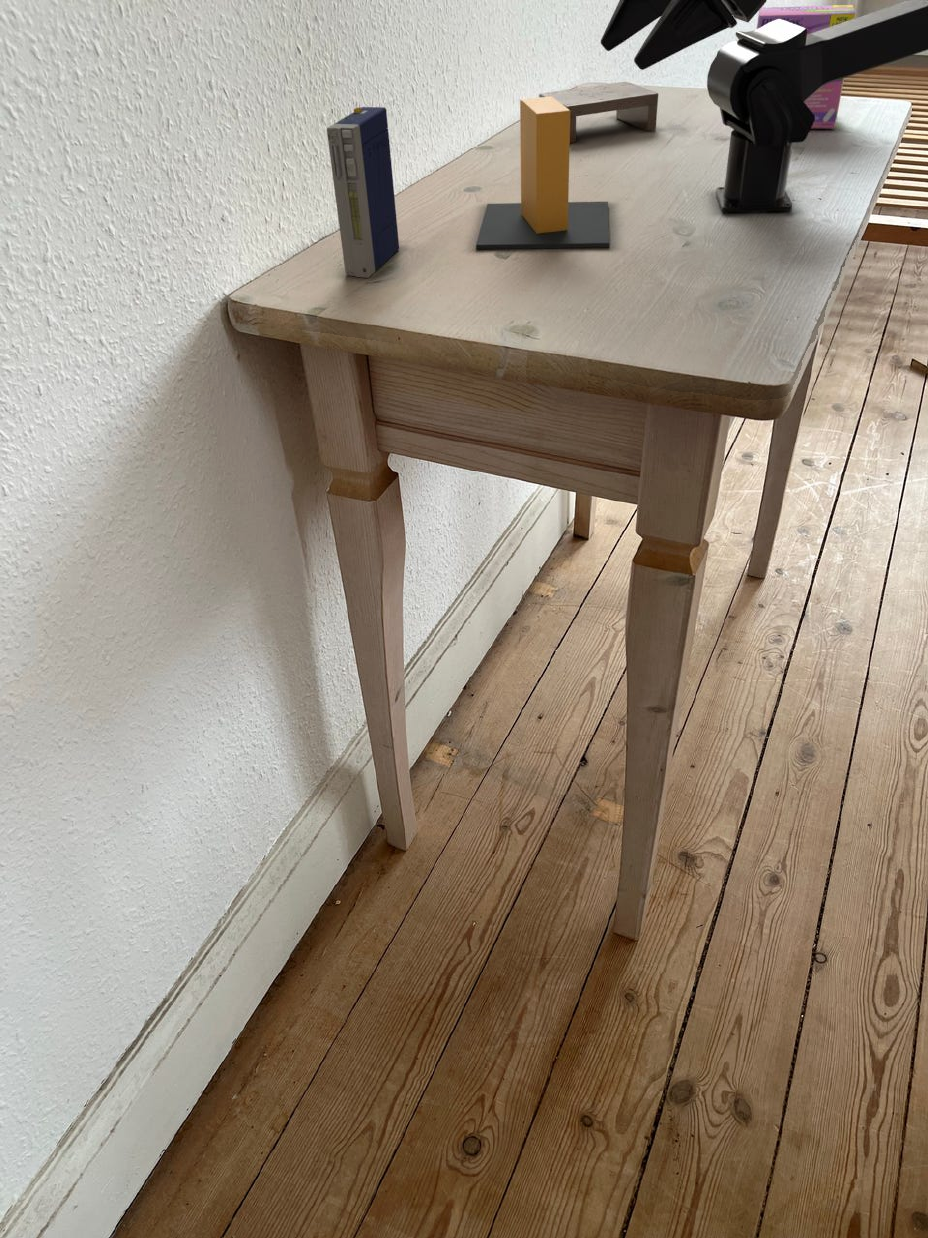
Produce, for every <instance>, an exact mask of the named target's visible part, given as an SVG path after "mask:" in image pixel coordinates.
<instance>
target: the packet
mask: <svg viewBox="0 0 928 1238" xmlns="http://www.w3.org/2000/svg"><path fill="white" fill-rule="evenodd" d="M519 109H520V110H519V112H520V113H519V121H520V122H519V124H520V125H519V128H520V131H519V132H520V203H521V215H522V216H523V217H524V218H525V220H526V221H527V222H528V223H529V225H530V226H531V227H532V228H533V230H534V231H535V232H536V234H540V233H548V232H557V231H565V230H568V202H569V195H570V193H569V191H570V190H569V189H570V188H569V187H570V147H571V145H570V144H571V143H570V110H569V109H567V108H566V107H565V106H564V105H562V104H561V103H560V102H558V101H557V100H556V99H555V98H553V97H552V96H550V97H540V98H539V97H530V98H521V99H520V100H519Z"/></svg>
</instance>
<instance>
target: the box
mask: <svg viewBox="0 0 928 1238" xmlns="http://www.w3.org/2000/svg"><path fill="white" fill-rule="evenodd" d="M855 18H856V10H855V8H854V6H853V4H831V5H805V6H804V5H803V6H773V7H771V6H770V7H766V6H765V7H764V6H762V7H761V9H760V10H759V11H758V15H757V23H756V29H759V28H760V27H762V26H764V25H766V24H768V23H770V22H772V21H774V20H777V19H782V20H785V21H788V22H791V23H793V24H796V25H799V26H802V27H804V28H807V34H811V33H814V32H817V31H820V30H823V29H826V28H828V27H831V26H834V25H837V24H840V23H843V22H846V21H849V20H852V19H855ZM844 82H845V78H843V79H840V80H837V81H834V82H831V83H828V84H826V85H824V86H822V87H821V88H820V89H818V90H817V91H816V92H815V93H814V94H813V95H812V96H811V97H809V98H808V99H807V100H806V101H805V104H806V105H807V106H808V108H809V109H810V110H811V112H812V113H813V114H814V115H815V121H814V123H813V125H812V127H811V129H810V130H812V129H813V130H814V129H815V130H817V129H831V130H834V129H835V128H836V124H837V119H838V113H839V108H840V104H841V103H840V102H841V98H842V91H843V87H844Z"/></svg>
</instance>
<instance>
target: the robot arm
mask: <svg viewBox="0 0 928 1238" xmlns="http://www.w3.org/2000/svg"><path fill="white" fill-rule="evenodd" d="M766 3H767V0H619V1H618V3H617V5H616V7H615V9H614V11H613V14H611V15H612V16H611V17H610V20H609V22H608V24H607V26H606V28H605V30H604V32H603V34H602V37H601V39H600V45H601V46H602V47H603V48H604V50H605V51H607V52H610V51H612V50H613V49H615V48H617V47H619V45H621V44H623V43H624V42H626V41H627V40H629V39H631V38H632V37H633V36H634V35H636V34H637V33H639V32H640V31H642V30H643V29H645V28H646V27H648V26H649V25H651V24H652V23H653V22H655V21H656V20H657V19H658V20H657V22H656V23H655V25H654V26H653V27H652V29H651V31H650V32H649V34H648V36H647V37H646V39H645V40H644V41H643V43H642V45H641V47H640V48H639V50H638V51H637V53H636V55H635V56H634V58H633V62H634V65H636V66H637V68H638V69H639V70H641V71H644V70H646V69H648V68H650V67H652V66H654V65H656V64H657V63H660V62H662V61H663V60H665V59H668V58H669V57H672V56H674V55H675V54H677V53H679V52H681V51H682V50H685V49H687V48H689V47H691V46H693V45H695V44H697V43H699V42H701V41H703V40H706V39H708V38H710V37H712V36H714V35H716V34H718V33H720V32H722V31H724V30H727V29H733V28H735V27H736V26H737V25H738V21H737V20H739V21H742V22H745V23H749V22H750V21H751V20H752V19H753V18H754V17H755V15H756V14H757V13H759V10H760V9H761V7H764V5H765V4H766ZM735 37H736V38H737V40H733V41H731V42H729V43H727V44H725V45H723V46H722V47H721V48H720V49H719V50H718V51H717V52H716V56H715V57H714V59H713V60H712V62H711V64H710V66H709V69H708V73H707V77H706V78H707V79H706V88H707V92H708V96H709V98H710V100H711V101H712V103H713V104H714V105H716V106H717V107H718V108H719V111H720V116H721V120H722V124H723V125H724V126H725V127H729V128H731V129H732V131H730V139H729V147H728V153H727V163H726V169H725V170H726V171H725V179H724V186H718V187H716V189H715V194H716V197H717V200H718V204H719V207H720V210H721V212H724V213H741V212H746V213H747V212H748V213H750V212H790V211H792V210H793V203H792V201H791V199H790V196H789V195H788V193H787V191H786V188H787V181H788V175H789V169H790V163H791V158H792V152H793V151H792V150H793V146H794V143H795V144H797V143H803V142H805V141H806V140H807V138H808V135H809V133H810V131H811V130H812V129H811V127H812V125H813V123H814V121H815V115H814V114H813V113H812V112H811V110H810V109H809V108H808V106H807V105H806V104H805V101H806V100H807V99H808V98H809V97H811V96H812V95H813V94H814V93H815V92H816V91H817V90H818V89H820V88H821V87H822V86H824V85H826V84H828V83H831V82H834V81H837V80H840V79H843V78H844V79H846V78H849V77H852V76H854V75H857V74H861V73H864V72H867V71H870V70H872V69H875V68H878V67H881V66H885V65H888V64H890V63H893V62H897V61H899V60H902V59H905V58H908V57H911V56H915V55H917V54H920V53H923V52H926V51H928V0H905V1H902V2H899V3H896V4H894V5H890V6H888V7H885V8H881V9H878V10H876V11H872V12H869V13H866V14H864V15H861V16H858V17H855V19H852V20H849V21H846V22H843V23H840V24H837V25H834V26H831V27H828V28H826V29H823V30H820V31H817V32H814V33H811V34H807V28H804V27H802V26H799V25H796V24H793V23H791V22H788V21H785V20H782V19H777V20H774V21H772V22H770V23H768V24H766V25H764V26H762V27H760V28H759V29H757V28H756V29H754V30H750V31H740V30H737V31H736V32H735Z"/></svg>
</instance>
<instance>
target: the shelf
mask: <svg viewBox="0 0 928 1238" xmlns="http://www.w3.org/2000/svg"><path fill="white" fill-rule="evenodd" d="M550 96H552V97H553V98H555V99H556V100H557V101H558V102H560V103H561V104H562V105H564V106H565V107H566V108H567V109H569V110H570V144H574V143H576V141H577V117H581V116H582V117H583V116H588V115H594V114H600V113H601V114H602V113H609V112H614V111H616V112H615V117H616V119H618V120H620V121H622V122H625V123H627V124H629V125H632V126H635V127H637V128H639V129H641V130H643V131H645V132H651V131H656V129H657V119H658V107H659V106H658V104H659V92H657V91H654V90H651V89H648V88H646V87H642V86H640V85H637V84H635V83H632V82H630V81H620V82H613V83H605V84H599V85H591V86H584V87H578V88H570V89H564V90H563V89H562V90H556V91H549V92H548V91H547V92H543V93H539V94H538V98H540V97H550Z"/></svg>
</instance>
